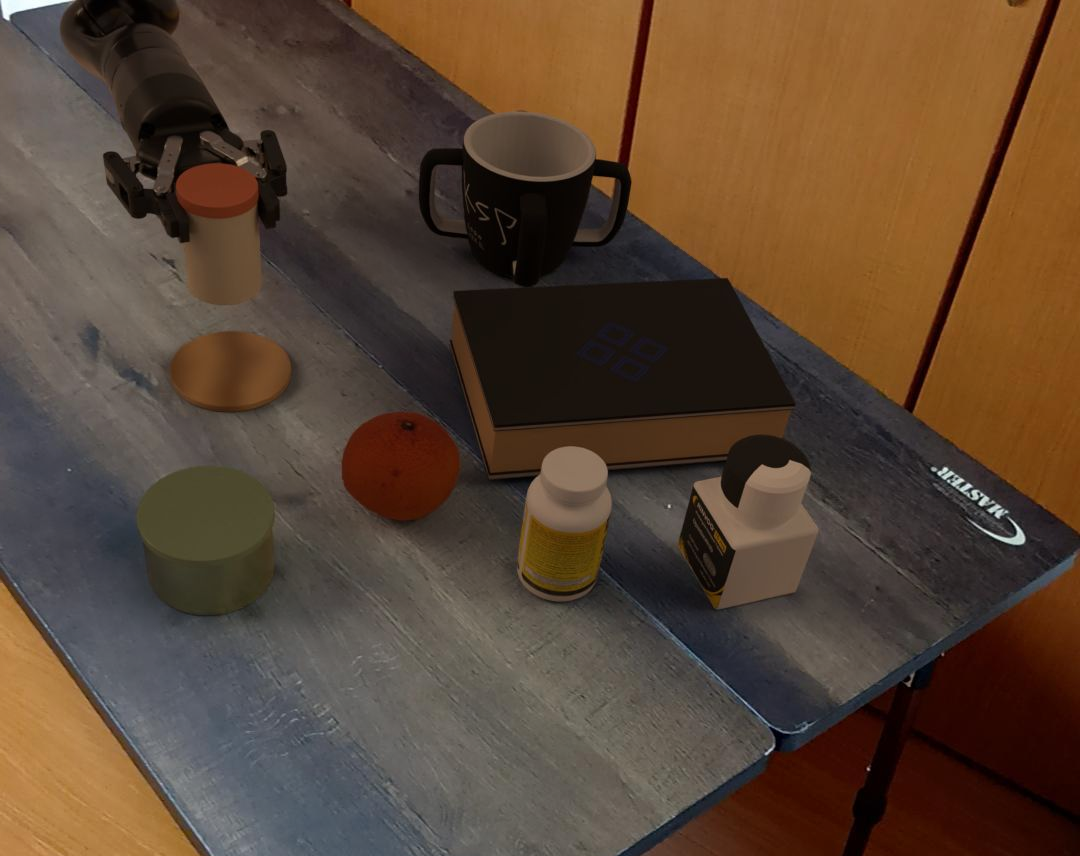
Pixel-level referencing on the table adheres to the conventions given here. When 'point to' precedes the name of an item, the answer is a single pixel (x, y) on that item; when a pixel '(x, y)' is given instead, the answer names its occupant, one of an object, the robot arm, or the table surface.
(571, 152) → the mug
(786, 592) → the medicine bottle
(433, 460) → the fruit
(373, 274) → the table surface
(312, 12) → the table surface
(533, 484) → the pill bottle
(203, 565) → the tin
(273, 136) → the robot arm
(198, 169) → the canister
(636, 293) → the book
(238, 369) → the coaster
